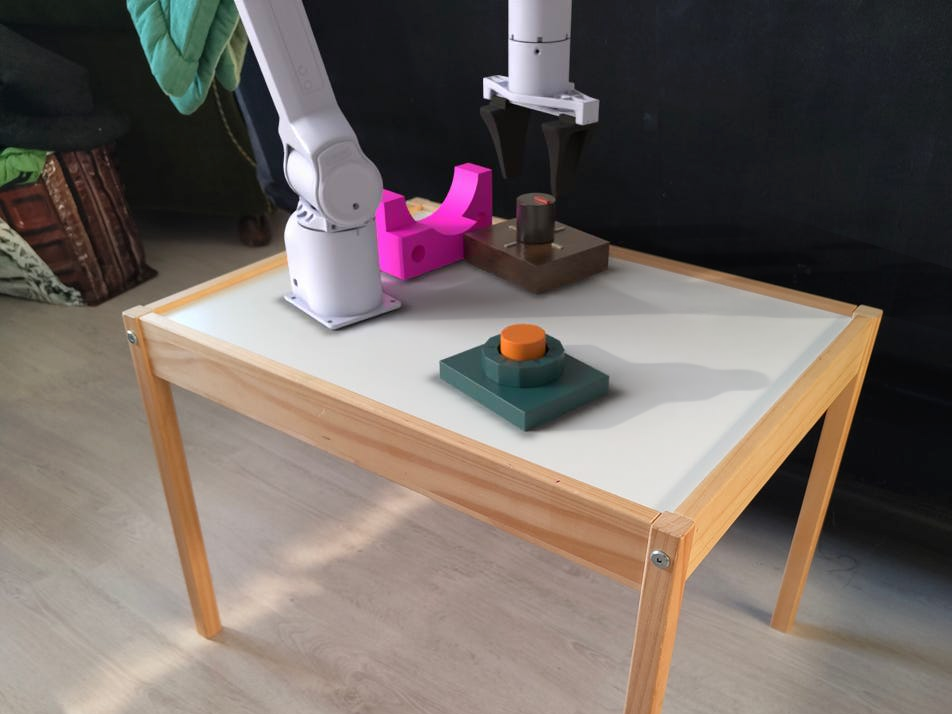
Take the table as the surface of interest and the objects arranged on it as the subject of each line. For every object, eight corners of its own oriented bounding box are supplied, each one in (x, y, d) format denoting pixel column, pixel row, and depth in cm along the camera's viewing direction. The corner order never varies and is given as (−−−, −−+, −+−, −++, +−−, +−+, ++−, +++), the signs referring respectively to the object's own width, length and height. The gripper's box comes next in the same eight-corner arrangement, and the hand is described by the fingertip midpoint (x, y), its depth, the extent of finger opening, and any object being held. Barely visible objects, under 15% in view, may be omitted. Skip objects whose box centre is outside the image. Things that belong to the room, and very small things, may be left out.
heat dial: (508, 236, 94) (508, 195, 92) (537, 227, 96) (537, 187, 94) (533, 246, 91) (534, 205, 89) (562, 237, 93) (564, 196, 91)
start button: (491, 351, 73) (491, 332, 72) (525, 338, 75) (525, 319, 74) (520, 367, 70) (520, 347, 69) (554, 354, 72) (555, 334, 71)
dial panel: (463, 260, 97) (462, 231, 95) (533, 238, 102) (533, 210, 100) (536, 295, 89) (537, 264, 87) (608, 269, 94) (610, 240, 92)
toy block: (404, 280, 92) (399, 208, 88) (367, 264, 96) (360, 194, 92) (507, 242, 100) (507, 174, 96) (470, 228, 104) (468, 162, 100)
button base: (439, 378, 76) (437, 341, 74) (520, 346, 80) (521, 310, 78) (524, 432, 69) (525, 392, 66) (608, 394, 73) (611, 355, 71)
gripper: (626, 42, 80) (616, 193, 88) (521, 23, 89) (520, 161, 97) (568, 53, 76) (563, 209, 84) (465, 32, 86) (469, 175, 94)
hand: (536, 185), depth 91 cm, fingers open, 7 cm apart
